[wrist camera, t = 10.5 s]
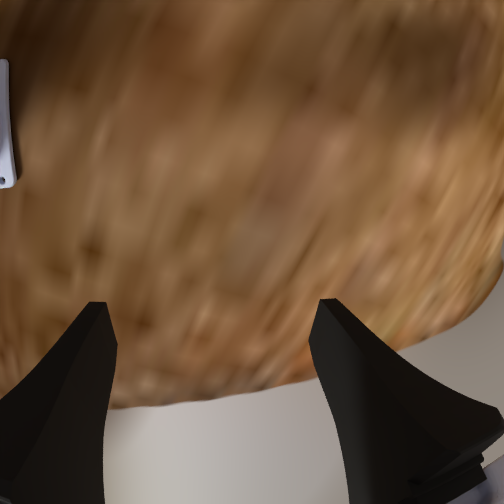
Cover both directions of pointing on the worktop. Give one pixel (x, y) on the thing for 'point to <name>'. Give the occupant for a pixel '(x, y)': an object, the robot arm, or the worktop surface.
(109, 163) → the worktop surface
